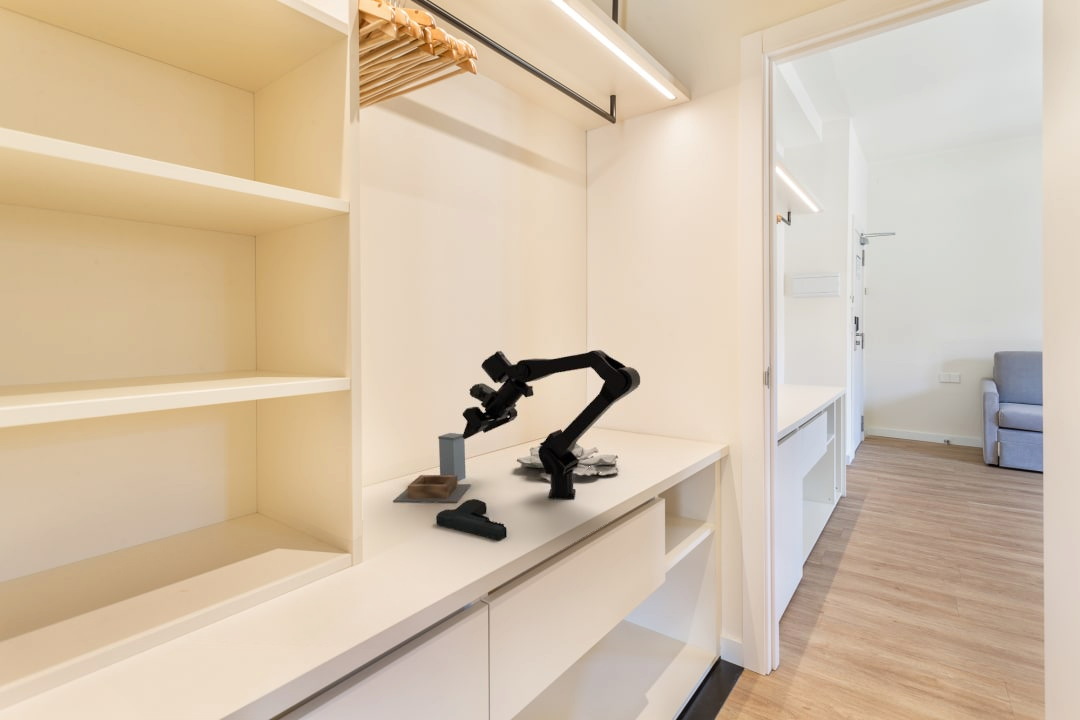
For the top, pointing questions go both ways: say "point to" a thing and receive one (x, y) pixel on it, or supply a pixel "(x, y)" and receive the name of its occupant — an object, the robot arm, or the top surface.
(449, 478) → the brown square open frame
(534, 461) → the decorative wall flower
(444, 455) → the tin
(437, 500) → the mat
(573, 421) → the robot arm
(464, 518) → the handgun
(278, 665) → the top surface
